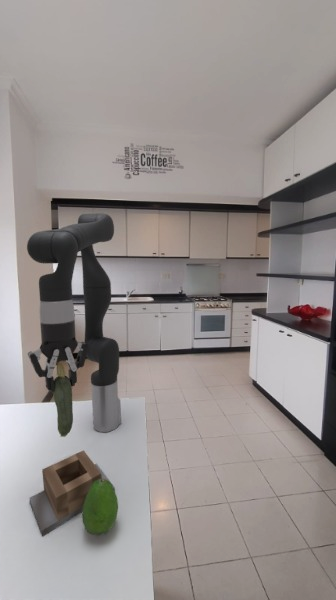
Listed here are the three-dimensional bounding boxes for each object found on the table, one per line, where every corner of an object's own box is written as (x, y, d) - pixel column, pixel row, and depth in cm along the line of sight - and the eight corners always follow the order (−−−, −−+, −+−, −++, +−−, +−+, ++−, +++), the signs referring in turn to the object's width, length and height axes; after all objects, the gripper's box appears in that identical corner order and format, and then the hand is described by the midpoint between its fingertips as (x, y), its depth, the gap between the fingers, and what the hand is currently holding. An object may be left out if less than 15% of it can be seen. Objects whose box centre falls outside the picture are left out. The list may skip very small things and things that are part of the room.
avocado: (120, 539, 60) (118, 490, 58) (83, 550, 57) (79, 500, 56) (116, 507, 67) (114, 463, 65) (83, 516, 65) (80, 471, 63)
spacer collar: (96, 468, 80) (95, 444, 79) (115, 492, 72) (113, 466, 71) (29, 503, 69) (27, 476, 68) (42, 536, 60) (39, 506, 59)
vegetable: (78, 434, 70) (74, 359, 67) (66, 445, 66) (61, 365, 63) (63, 430, 71) (59, 357, 69) (51, 441, 67) (46, 363, 65)
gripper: (81, 313, 72) (84, 375, 74) (20, 320, 63) (26, 390, 65) (93, 317, 66) (96, 385, 68) (27, 326, 57) (33, 403, 59)
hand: (61, 387), depth 67 cm, fingers closed on vegetable, 4 cm apart
